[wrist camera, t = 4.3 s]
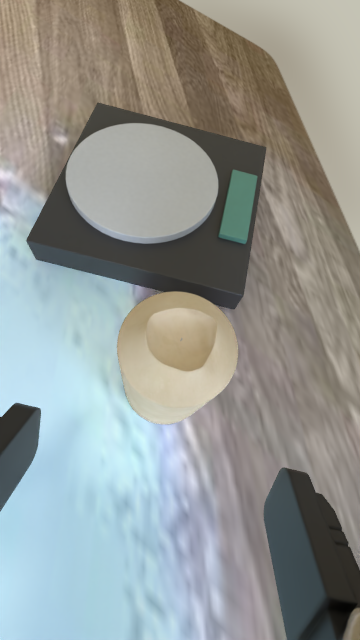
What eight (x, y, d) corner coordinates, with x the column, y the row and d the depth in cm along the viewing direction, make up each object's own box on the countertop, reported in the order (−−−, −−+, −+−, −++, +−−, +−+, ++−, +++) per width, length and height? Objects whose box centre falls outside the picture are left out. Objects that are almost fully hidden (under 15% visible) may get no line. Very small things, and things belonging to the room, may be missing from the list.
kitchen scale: (257, 168, 32) (270, 139, 29) (234, 309, 25) (247, 290, 22) (100, 126, 31) (96, 92, 28) (35, 259, 25) (21, 233, 22)
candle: (188, 337, 24) (220, 264, 15) (214, 410, 22) (269, 377, 13) (115, 358, 23) (100, 291, 13) (137, 436, 21) (136, 422, 12)
